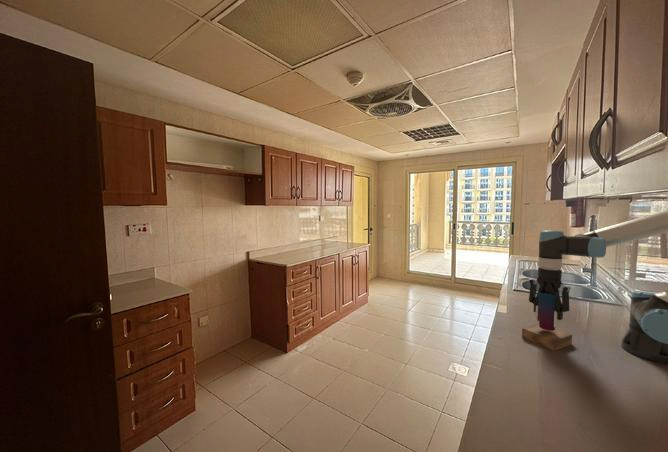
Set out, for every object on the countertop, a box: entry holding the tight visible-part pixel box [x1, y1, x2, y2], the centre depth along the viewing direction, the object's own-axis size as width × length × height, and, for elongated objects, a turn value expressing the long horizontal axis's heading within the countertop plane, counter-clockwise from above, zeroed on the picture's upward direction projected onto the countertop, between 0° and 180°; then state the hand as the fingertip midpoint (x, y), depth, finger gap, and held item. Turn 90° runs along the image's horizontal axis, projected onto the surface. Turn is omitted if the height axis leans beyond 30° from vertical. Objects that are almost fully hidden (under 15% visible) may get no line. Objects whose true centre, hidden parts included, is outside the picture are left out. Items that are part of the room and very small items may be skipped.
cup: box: [537, 289, 560, 331], centre depth 110 cm, size 7×7×15 cm
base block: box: [521, 322, 573, 352], centre depth 111 cm, size 12×12×4 cm
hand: (547, 323), depth 110 cm, fingers closed on cup, 6 cm apart
